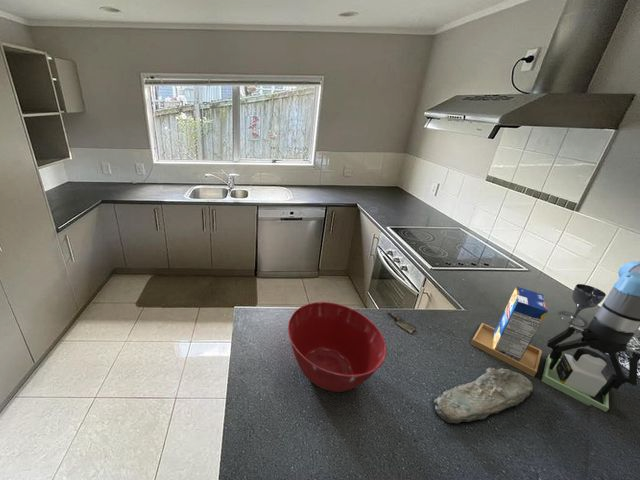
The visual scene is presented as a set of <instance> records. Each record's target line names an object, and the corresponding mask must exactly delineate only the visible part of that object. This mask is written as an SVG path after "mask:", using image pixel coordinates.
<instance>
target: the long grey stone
mask: <svg viewBox="0 0 640 480" xmlns="http://www.w3.org/2000/svg"><path fill="white" fill-rule="evenodd" d="M532 392H534V389H533V384H532V382H531V380H530V379H529V378H527V377H526V376H525V375H523V374H522V373H519V372H516V371H512V370H510V368H509V369H507V368H503V367H501V368H499V369H496V368H492V367H488V368H486V369H485V373H484V374H481V375H480V376H478V377H477V378H475V380H473V381H472V382H467V383H462V384H459V385H457V386H454V387H451V388H450V389H447V390H444V391H443V393H442V394H439V395H438V396H437V398H435V399H434V400H433V404H434V405H435V406H434V410H435V412H436V413H437V416H439V417H440V418H441V420H443V421H445V422H446V423H449V424H460V423H461V422H464V423H465V422H466V423H469V422H473V421H476V420H477V421H478V420H485V419H487V417H489V415H492V414H499V413H500V412H501V411H505V410H506V409H509V408H511V407H516V406H518V405H519V404H520V403H523V402H524V400H525V399H526V398H528V397H530V396H531V393H532Z"/></svg>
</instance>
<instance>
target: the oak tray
mask: <svg viewBox="0 0 640 480" xmlns="http://www.w3.org/2000/svg"><path fill="white" fill-rule="evenodd" d="M495 329H496V327H495V328H494V327H492V326H490V325H488V324H486V323H483V322H482V323H481V324H480V326H479V328H478V329H477V330H476V332H475V334H474V335H473V338H472V340H471V342H470V345H472V346H473V347H475V348H477V349H479V350H481V351H482V352H485V353H486V354H489V355H491V356H492V357H494V358H496V359H498V360H499V361H502V362H503V363H506V364H508V365H510V366H512V367H514V368H515V369H517V370H519V371H521V372H523V373H525V374H526V375H528V376H531V377H532V378H535V376H536V375H537V372H538V370H539V365H540V362H541V357H542V354H543V350H542V349H540V348H538V347H535V346H534V345H531V344H529V345H528V347H527V349H526V351H525V353H524V354H523V356H522V358H521V360H520V361H517V360H515V359H513V358H511V357H509V356H507V355H505V354H503V353H501V352H499V351H497V350H495V349H493V333H494V331H495Z"/></svg>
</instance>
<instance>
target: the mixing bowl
mask: <svg viewBox="0 0 640 480" xmlns="http://www.w3.org/2000/svg"><path fill="white" fill-rule="evenodd" d="M287 333H288V338H289V342H290V345H291V349H292V352H293V355H294V358H295V360H296V362H297V365H298V367H299V368H300V370H301V371H302V373H303V375H304V376H305V377H306V378H307V379H308V380H309V381H310V382H311V383H312V384H314V385H315V386H317V387H319V388H321V389H323V390H326V391H329V392H337V393H340V392H346V391H350V390H352V389H356V388H357V387H359V386H360V385H362V384H363V383H364V382H366V381H367V380H368V379H370V378H371V376H372V375H373V374H374V373H375V372H376V371H377V370H378V369H380V367H381V366H382V365H383V364H384V362H385V360H386V357H387V344H386V340H385V337H384V335H383V334H382V332H381V331H380V330H379V328H378V327H377V326H376V324H375V323H374V322H372V321H371V319H369V318H368V317H367V316H365V315H364V314H362V313H361V312H359V311H357V310H356V309H353V308H351V307H348V306H346V305H343V304H340V303H335V302H329V301H317V302H316V301H315V302H310V303H306V304H304V305H301V306H300V307H298V308H297V309H296V310H295V311H293V313H292V314H291V315H290V318H289V320H288V325H287Z"/></svg>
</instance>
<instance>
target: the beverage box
mask: <svg viewBox="0 0 640 480" xmlns="http://www.w3.org/2000/svg"><path fill="white" fill-rule="evenodd" d="M547 313H548V307H547V304H546V301H545V296H544V294H543V293H539V292H536V291H533V290H530V289H526V288H523V287H521V286H520V287H519V286H515V288H514V290H513V292H512V294H511V296H510V298H509V301H508V303H507V305H506V307H505V309H504V310H503V313H502V315H501V317H500V319H499V321H498V323H497V325H496V327H495V331H494V333H493V349H495V350H497V351H499V352H501V353H503V354H505V355H507V356H509V357H511V358H513V359H515V360H517V361H520V360H521V358H522V356H523V354H524V353H525V351H526V349H527V347H528V345H531V342H532V340H533V338H534V336H535V335H536V333H537V331H538V329H539V328H540V326H541V324H542V322H543V320H544V319H545V318H546V315H547Z"/></svg>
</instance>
